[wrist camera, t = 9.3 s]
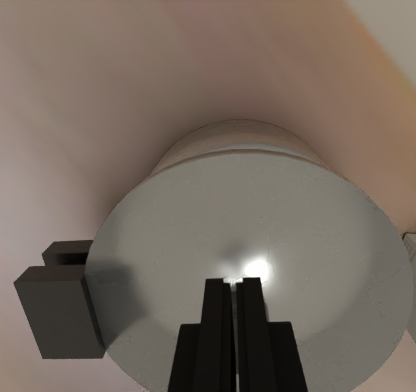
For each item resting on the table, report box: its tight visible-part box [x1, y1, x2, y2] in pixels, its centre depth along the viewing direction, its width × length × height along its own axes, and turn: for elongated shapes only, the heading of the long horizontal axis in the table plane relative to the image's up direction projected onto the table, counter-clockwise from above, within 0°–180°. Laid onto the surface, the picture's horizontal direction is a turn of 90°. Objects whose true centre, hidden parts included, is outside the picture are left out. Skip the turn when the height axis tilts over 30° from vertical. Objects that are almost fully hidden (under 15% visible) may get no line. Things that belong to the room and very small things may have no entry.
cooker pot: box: [42, 120, 329, 266], centre depth 26 cm, size 19×22×12 cm
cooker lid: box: [14, 149, 414, 392], centre depth 18 cm, size 19×22×4 cm
